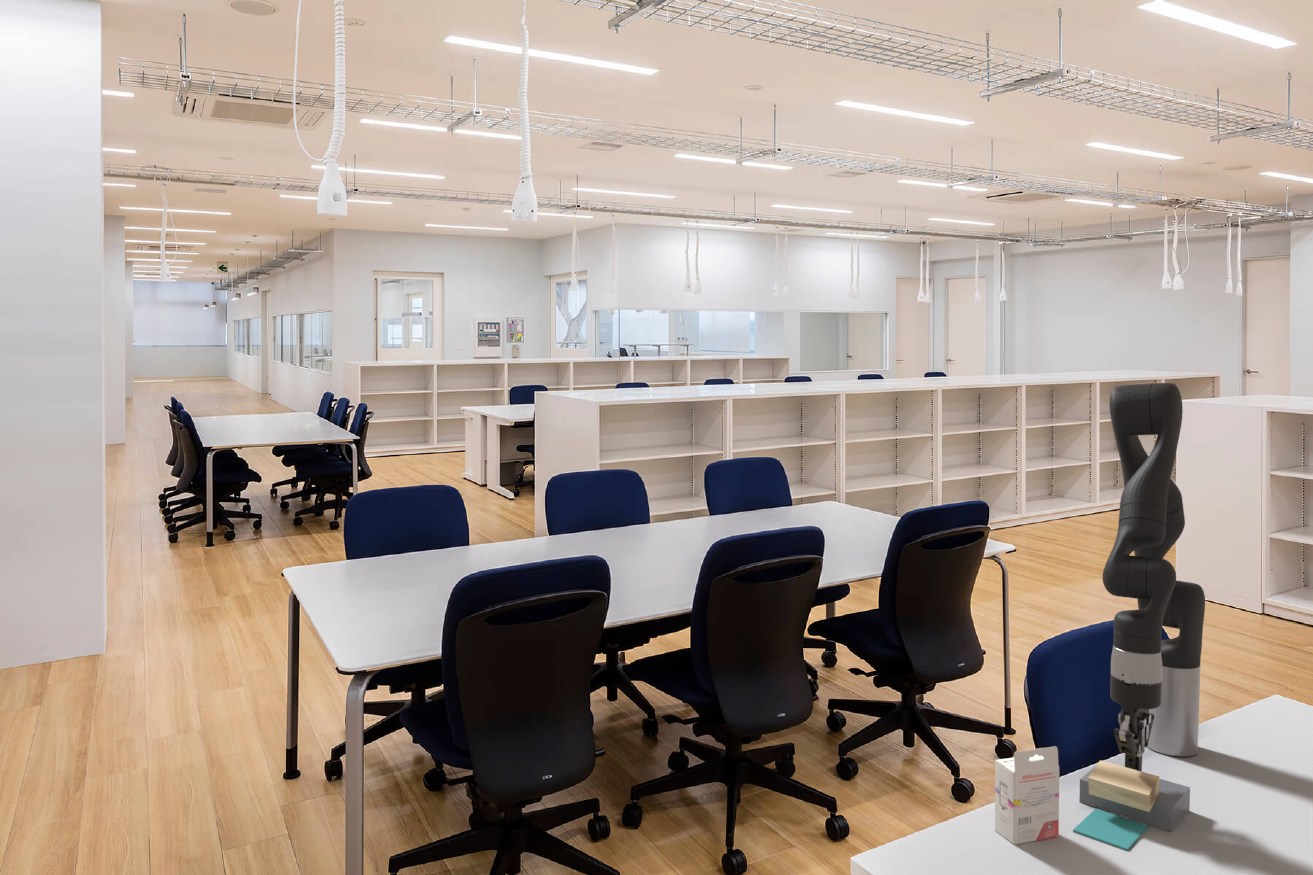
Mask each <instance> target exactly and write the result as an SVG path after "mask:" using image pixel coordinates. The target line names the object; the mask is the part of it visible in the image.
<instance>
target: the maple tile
mask: <svg viewBox="0 0 1313 875" xmlns="http://www.w3.org/2000/svg"><path fill="white" fill-rule="evenodd" d="M1096 765H1097V766H1096ZM1096 765H1095V766H1096V767H1095V766H1094V767H1095V769H1094V770H1093V771H1092V773H1091V774H1090V776H1089V777H1088V784H1089V794H1091V795H1094V796H1097V797H1101V798H1104V799H1107V800H1110V801H1114V802H1117V803H1120V804H1124V805H1127V806H1130V807H1134V808H1137V809H1140V810H1144V811H1147V812H1150V810H1151V808H1152V806H1153V805H1154V803H1155V801H1156V799H1157V797H1158V796H1159V794H1160V780H1159V779H1160V776H1159V775H1155V774H1151V773H1149V772H1145V771H1142V772H1141V771H1138V770H1134V769H1130V768H1127V767H1125V766H1122V765H1119V764H1116V763H1111V762H1108V761H1105V760H1101V759H1100V760H1099V762H1098V763H1097V764H1096Z"/></svg>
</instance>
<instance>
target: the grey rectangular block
mask: <svg viewBox="0 0 1313 875" xmlns="http://www.w3.org/2000/svg"><path fill="white" fill-rule="evenodd" d="M1096 766H1097V764H1096V765H1095V766H1094V767H1093V768H1091V769H1090V770H1089V771H1088V772H1087V773H1086V774H1084V775H1082V777H1080V778H1079V803H1082V804H1085V805H1087V806H1091V807H1093V808H1096V807H1097V808H1096V809H1099V810H1102V809H1103V810H1102V811H1105V810H1106V811H1105V812H1108V811H1109V812H1108V813H1111V812H1112V813H1111V814H1114V813H1115V814H1114V815H1117V816H1121V815H1122V816H1121V817H1124V818H1127V817H1128V818H1127V819H1130V820H1133V821H1136V820H1137V821H1136V822H1139V823H1142V824H1145V825H1148V826H1151V827H1155V828H1157V829H1160V830H1163V831H1167V832H1170V833H1172V832H1173V830H1175V828H1176V827H1177V826H1178V825H1179V823H1180V822H1182V820H1183V819H1185V817H1186V815H1188V814H1189V812H1190V807H1191V806H1190V803H1191V801H1190V800H1191V787H1190V786H1186V785H1183V784H1180V783H1177V782H1173V781H1169V780H1166V779H1162V778H1159V780H1160V794H1159V796H1158V797H1157V799H1156V801H1155V803H1154V805H1153V806H1152V808H1151V810H1150V812H1147V811H1144V810H1140V809H1137V808H1134V807H1130V806H1127V805H1124V804H1120V803H1117V802H1114V801H1110V800H1107V799H1104V798H1101V797H1097V796H1094V795H1091V794H1089V784H1088V777H1089V776H1090V774H1091V773H1092V771H1093V770H1094V769H1095V767H1096Z"/></svg>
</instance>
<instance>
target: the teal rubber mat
mask: <svg viewBox="0 0 1313 875" xmlns="http://www.w3.org/2000/svg"><path fill="white" fill-rule="evenodd" d="M1148 829H1149V825H1148V824H1145V823H1142V822H1139V821H1136V820H1133V819H1130V818H1127V817H1124V816H1121V815H1117V814H1114V813H1111V812H1108V811H1105V810H1102V809H1099V808H1094V810H1092V811H1091V812H1090V813H1089V814H1088V815H1087V816H1086V817H1085V818H1084V819H1083V820H1081V822H1080V823H1079V824H1077V825H1076V826H1075V827H1074V828H1073V829H1072V832H1073V833H1076V834H1077V835H1081V834H1082V836H1084V837H1087V838H1090V839H1092V840H1096V841H1099V842H1101V843H1105V844H1107V845H1109V846H1113V847H1116V848H1118V849H1121V850H1124V851H1126V852H1128V851H1129V850H1130V848H1132V846H1133V845H1134V844H1135V843H1136V842H1137V841H1138V839H1139V838H1140V837H1141V836H1142V835H1143V834H1144V833H1145V832H1146V831H1147V830H1148Z"/></svg>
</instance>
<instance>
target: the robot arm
mask: <svg viewBox="0 0 1313 875" xmlns="http://www.w3.org/2000/svg"><path fill="white" fill-rule="evenodd" d="M1108 406H1109V414H1110V422H1111V426H1112V429H1113V434H1114V438H1115V443H1116V448H1117V452H1118V455H1119V461H1120V465H1121V470H1122V472H1121V473H1122V477H1123V479H1122V480H1123V486H1124V488H1123V491H1122V493H1121V497H1120V501H1119V512H1118V525H1117V526H1118V527H1117V533H1116V537H1115V541H1114V544H1113V546H1112V550H1111V551H1110V553H1109V556H1108V558H1107V559H1106V560H1107V561H1106V563H1105V565H1104V568H1103V569H1102V576H1101V578H1102V583H1103V586H1104V588H1105V590H1106V591H1107V593H1109V594H1110V595H1112V596H1114V597H1121V598H1128V599H1129V598H1130V599H1136V600H1137V606H1138V608H1137V609H1128V610H1121V611H1119V612H1117V613H1116V614H1115V615H1114V618H1113V636H1112V637H1113V642H1112V650H1111V651H1112V652H1111V656H1110V679H1109V680H1110V685H1109V690H1110V691H1109V696H1110V699H1111V700H1112V701H1113V702H1115V703H1117V704H1118V705H1119V706H1120V707H1121V710H1120V711H1119V712H1118V716H1117V718H1118V719H1117V720H1118V723H1119V728H1118V727H1117V728H1116V727H1115V728H1114V730H1113V735H1114V737H1115V738H1114V739H1115V740H1116V745H1117V748H1118V750H1119V753H1121V754H1124V767H1127V768H1130V769H1134V770H1138V771H1141V772H1143V755H1144V753H1145V752H1146V750H1145V749H1146V748H1149V749H1150V750H1152V751H1155V752H1157V753H1159V754H1164V755H1168V756H1172V757H1192V756H1195V755H1197V754H1198V748H1199V747H1198V745H1199V724H1200V723H1199V720H1200V696H1201V694H1200V692H1201V690H1200V689H1201V688H1200V687H1201V679H1200V678H1201V658H1202V648H1203V647H1202V646H1203V632H1204V620H1205V612H1206V596H1205V591H1204V589H1203V587H1202V586H1201V585H1200V584H1198V583H1195V582H1189V581H1182V580H1177V573H1176V569H1175V567H1174V566H1173V564H1172V563H1171V562H1170V561H1169V560H1167V559H1165V556H1166V555H1167V553H1168V552H1169V551H1170V550H1171V548H1172V547H1173V545H1175V544H1176V543H1177V541H1178V540H1179V538H1180V537H1181V535H1182V533H1183V531H1184V529H1185V526H1186V525H1185V524H1186V521H1185V520H1186V519H1185V510H1184V503H1183V495H1182V493H1181V491H1180V489H1179V487H1178V486H1177V484H1176V483H1175V482H1174V481H1173V480H1172V473H1173V469H1174V464H1175V461H1176V455H1177V449H1178V445H1179V439H1180V433H1181V429H1182V422H1183V413H1184V412H1183V400H1182V394H1181V391H1180V389H1179V388H1178V386H1177V385H1176V384H1174V383H1173V382H1158V383H1157V382H1155V383H1140V384H1124V385H1117V386H1116V387H1114V388H1113V389H1112V391H1111V393H1110V395H1109V405H1108ZM1156 435H1157V437H1156V439H1155V443H1154V446H1153V449H1152V450H1151V452H1150V454H1148V453H1147V451H1146V450H1145V449H1144V446H1143V445H1142V442H1141V440H1140V438H1139V436H1156ZM1132 553H1133V554H1134V555H1131V554H1132ZM1163 627H1168V628H1173V629H1177V630H1179V633H1178V636H1176V637H1173V638H1169V639H1162V634H1163V632H1162V631H1163Z"/></svg>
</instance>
